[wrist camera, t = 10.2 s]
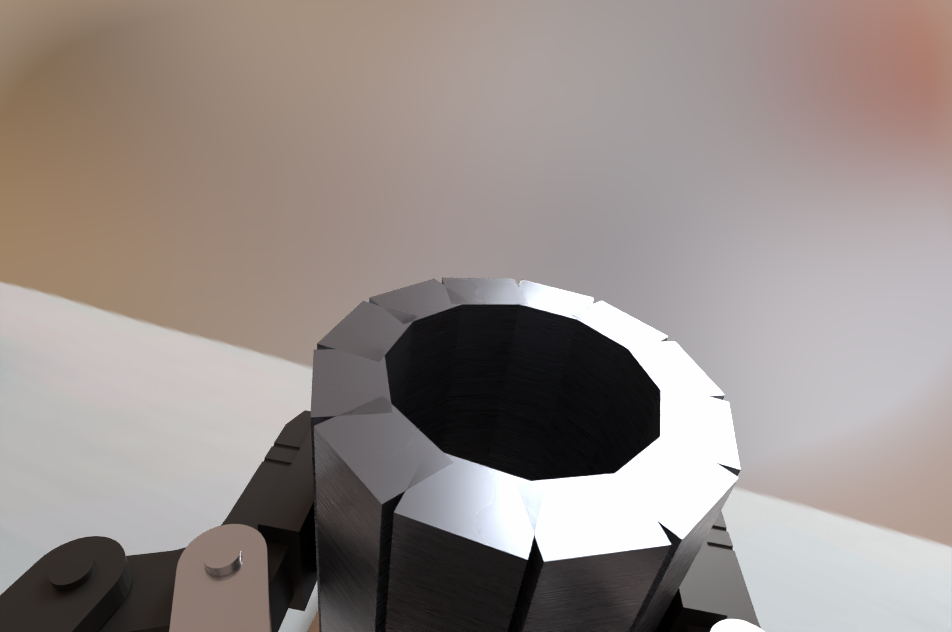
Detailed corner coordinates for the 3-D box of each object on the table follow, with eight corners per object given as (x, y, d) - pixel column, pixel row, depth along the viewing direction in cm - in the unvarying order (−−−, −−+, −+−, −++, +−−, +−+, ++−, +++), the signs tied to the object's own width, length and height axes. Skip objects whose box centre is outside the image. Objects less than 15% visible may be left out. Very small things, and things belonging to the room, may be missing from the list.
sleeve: (434, 971, 9) (544, 691, 4) (278, 681, 13) (235, 336, 8) (624, 717, 13) (801, 408, 8) (463, 546, 17) (516, 254, 12)
